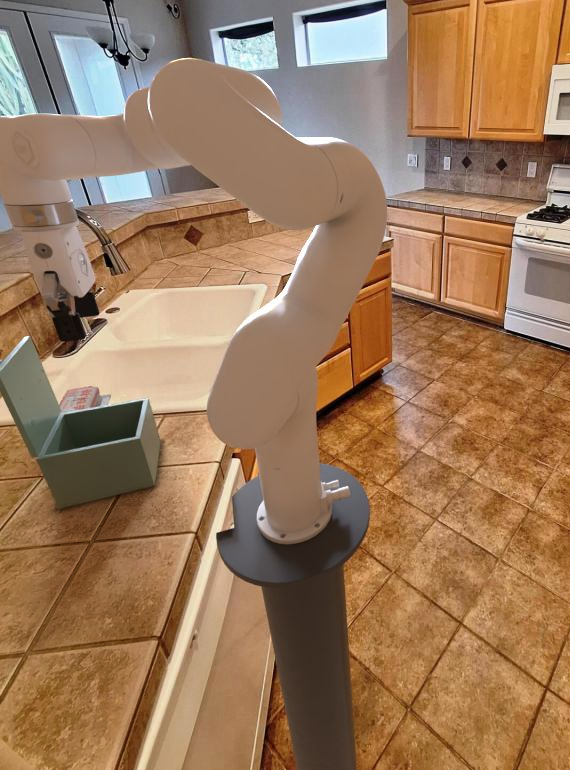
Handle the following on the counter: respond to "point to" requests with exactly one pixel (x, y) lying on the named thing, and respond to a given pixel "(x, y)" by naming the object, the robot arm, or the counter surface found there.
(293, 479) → the robot arm
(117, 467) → the bin
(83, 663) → the counter surface
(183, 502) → the counter surface
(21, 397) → the bin lid
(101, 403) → the packaged product
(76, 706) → the counter surface
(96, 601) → the counter surface
